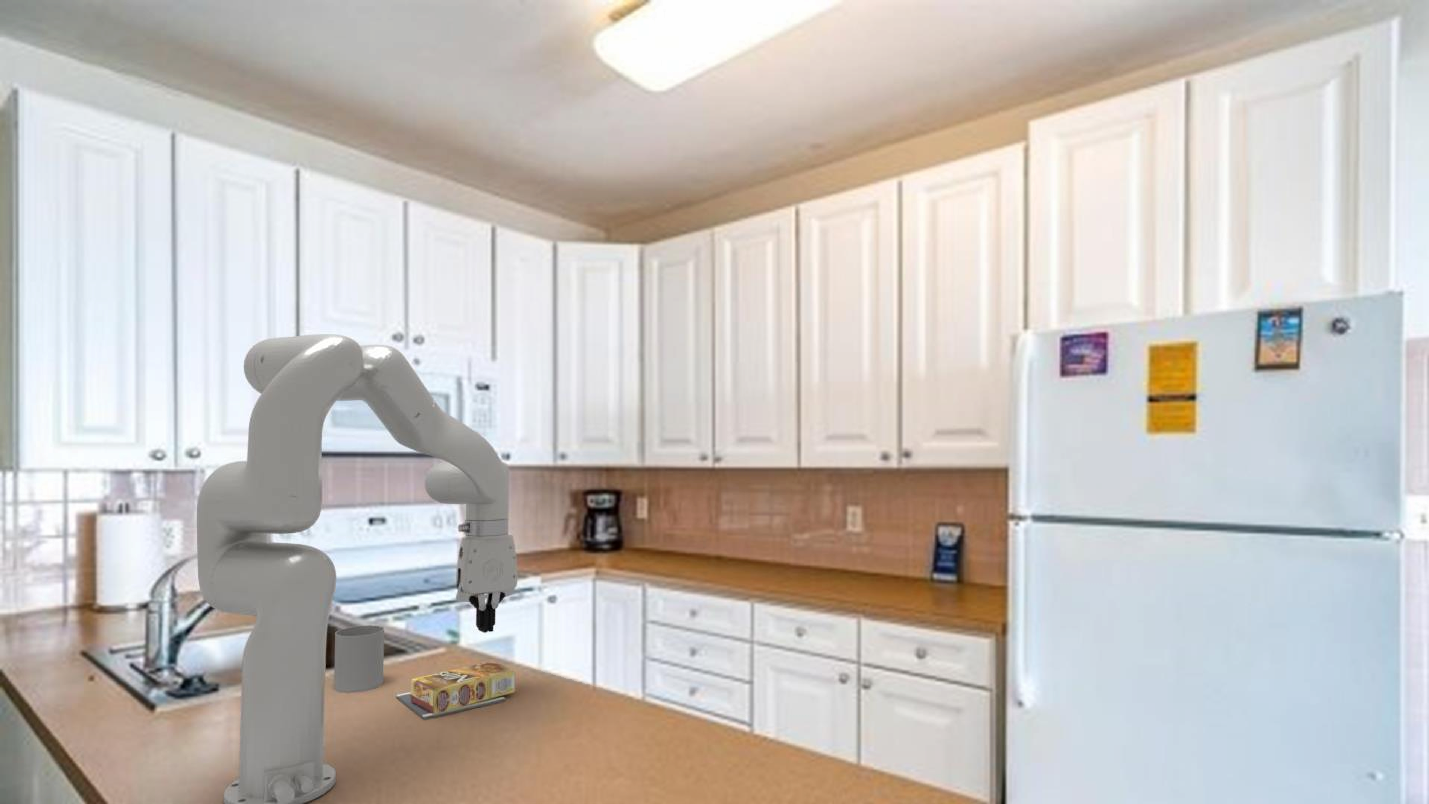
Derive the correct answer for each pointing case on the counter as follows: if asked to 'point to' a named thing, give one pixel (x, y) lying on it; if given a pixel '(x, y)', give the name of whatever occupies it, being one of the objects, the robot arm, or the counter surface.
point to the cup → (359, 658)
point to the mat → (426, 714)
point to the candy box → (462, 686)
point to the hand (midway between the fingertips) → (485, 630)
